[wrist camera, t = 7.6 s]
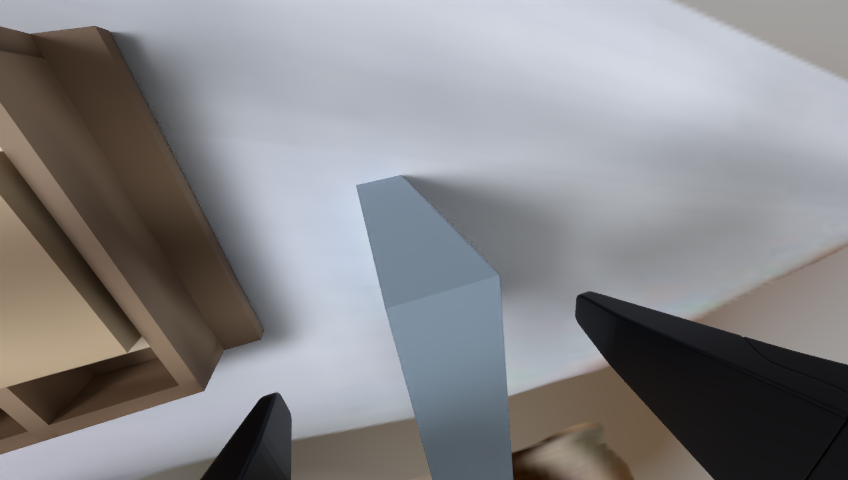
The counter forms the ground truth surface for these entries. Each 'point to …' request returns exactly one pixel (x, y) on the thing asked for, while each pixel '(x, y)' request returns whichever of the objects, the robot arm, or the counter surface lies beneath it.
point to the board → (442, 331)
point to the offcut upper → (49, 293)
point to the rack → (113, 232)
